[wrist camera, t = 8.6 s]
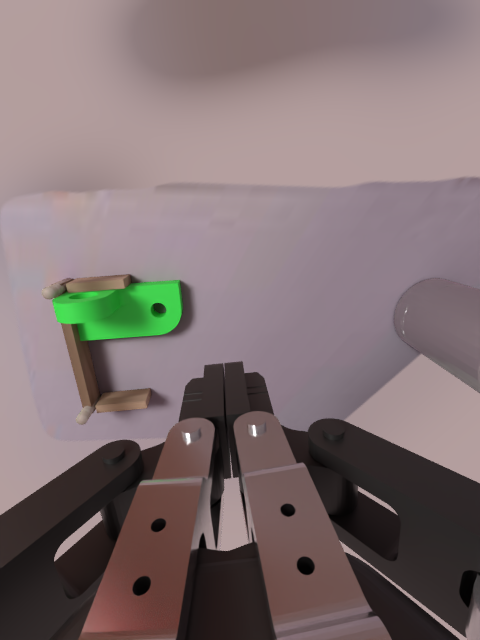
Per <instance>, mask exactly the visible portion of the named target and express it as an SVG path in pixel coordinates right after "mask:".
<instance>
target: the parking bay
mask: <svg viewBox="0 0 480 640" xmlns="http://www.w3.org/2000/svg"><path fill="white" fill-rule="evenodd" d="M131 283H132V282H131V277H130V274H127V275H114V276H102V277H89V278H77V279H75V280H73V279H70V278H67V279H64V280H62V281H59V282H57V283H55V284H52V285H51V286H49V287H46V288H44V289H43V290H42V296H43V297H44V298H45V299H52V298H56V297H58V296H60V295H62V294H64V293H66V292H68V293H74V292H87V291H99V290H111V289H124V288H126V287H127V286H128V285H129V284H131ZM61 325H62V329H63V333H64V336H65V340H66V344H67V348H68V352H69V356H70V360H71V364H72V367H73V371H74V375H75V379H76V383H77V387H78V391H79V395H80V398H81V402H82V406H83V409H82V410H81V412H80V413H79V415H78V416H77V418H76V422H77V423H78V424H81V425H83V424H85V423H86V422H87V420H88V419H89V417H90V416H91V414H92V413H93V412H94V411H95V409H96V410H97V413H101V412H111V411H122V410H132V409H142V408H147V406H148V403H149V400H150V398H151V390H150V388H148V389H138V390H127V391H117V392H106V393H103V394H102V396H101V395H100V392H99V388H98V384H97V380H96V375H95V371H94V367H93V363H92V358H91V354H90V350H89V346H88V341H81V340H80V336H79V332H78V327H77V324H64V323H61Z"/></svg>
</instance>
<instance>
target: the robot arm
mask: <svg viewBox="0 0 480 640" xmlns="http://www.w3.org/2000/svg"><path fill="white" fill-rule="evenodd" d="M394 326H395V329H396V332H397V334H398V335H399V337H400V338H401V339H402V340H403V341H404V342H406V343H407V344H409V345H410V346H412V347H413V348H415V349H416V350H417V351H419V352H420V353H422V354H423V355H425V356H426V357H428V358H429V359H430V360H432V361H433V362H435V363H436V364H438V365H439V366H441V367H442V368H443V369H445V370H446V371H448V372H450V373H451V374H453V375H454V376H455V377H457V378H458V379H460V380H461V381H463V382H464V383H466V384H467V385H469V386H470V387H471V388H473V389H474V390H476V391H477V392H479V393H480V290H479V289H476V288H473V287H469V286H466V285H463V284H459V283H456V282H452V281H449V280H446V279H440V278H433V279H427V280H424V281H421V282H419V283H417V284H415V285H414V286H412V287H411V288H410V289H408V290H407V291H406V293H405V294H404V295H403V296H402V297H401V299H400V300H399V302H398V304H397V307H396V309H395V314H394ZM224 364H225V376H224V367H223V363H222V364H212V365H205V367H204V378H195V379H192V380H191V381H190V382H189V383H188V384H187V385H186V386H185V392H184V397H183V402H182V407H181V412H180V417H179V422H178V423H177V424H175V425H174V426H173V427H172V428H171V429H170V430H169V432H168V435H167V438H166V441H165V442H163V443H162V444H159V445H157V446H154V447H152V448H148V449H145V450H142V451H141V450H140V447H139V445H138V444H137V443H136V442H134V441H132V440H118V441H114V442H111V443H108V444H106V445H104V446H102V447H101V448H99V449H98V450H96V451H95V452H93V453H92V454H90V455H89V456H87V457H86V458H84V459H83V460H81V461H80V462H79V463H77V464H75V465H74V466H72V467H71V468H70V469H68V470H67V471H65V472H64V473H62V474H61V475H59V476H58V477H56V478H55V479H53V480H52V481H50V482H49V483H48V484H46V485H45V486H43V487H41V488H40V489H39V490H37V491H36V492H34V493H33V494H31V495H30V496H28V497H27V498H25V499H24V500H22V501H21V502H19V503H18V504H16V505H15V506H14V507H12V508H11V509H9V510H8V511H6V512H5V513H3V514H2V515H0V640H459V639H458V638H457V637H456V636H455V635H453V634H452V633H451V632H450V631H449V630H447V629H446V628H445V627H444V626H443V625H441V624H440V623H439V622H438V621H436V620H435V619H434V618H433V617H431V616H430V615H429V614H428V613H427V612H425V611H424V610H423V609H422V608H421V607H419V606H418V605H417V604H416V603H414V602H413V601H412V600H411V599H410V598H408V597H407V596H406V595H405V594H403V593H402V592H401V591H400V590H399V589H397V588H396V587H395V586H394V585H392V584H391V583H390V582H389V581H388V580H386V579H385V578H384V577H383V576H382V575H380V574H379V573H378V572H377V571H375V570H374V569H373V568H371V567H370V566H369V565H367V564H366V563H364V562H363V561H361V560H360V559H358V558H356V557H354V556H352V555H350V554H348V553H345V552H344V550H343V548H342V545H341V543H340V541H341V542H342V543H344V544H345V545H346V546H348V547H349V548H351V549H352V550H353V551H354V552H355V553H357V554H358V555H359V556H361V557H362V558H363V559H365V560H366V561H367V562H368V563H370V564H371V565H372V566H374V567H375V568H376V569H378V570H379V571H380V572H382V573H383V574H384V575H385V576H387V577H388V578H389V579H391V580H392V581H393V582H395V583H396V584H397V585H398V586H400V587H401V588H402V589H403V590H405V591H406V592H407V593H409V594H410V595H411V596H413V597H414V598H415V599H416V600H418V601H419V602H421V603H422V604H423V605H424V606H426V607H427V608H428V609H429V610H431V611H432V612H434V613H435V614H436V615H437V616H439V617H440V618H441V619H443V620H444V621H445V622H447V623H448V624H449V625H450V626H452V627H453V628H454V629H455V630H457V631H458V632H459V633H461V634H462V635H463V636H464V637H466V638H467V640H480V483H478V482H476V481H473V480H471V479H469V478H467V477H465V476H462V475H460V474H458V473H456V472H454V471H452V470H450V469H447V468H445V467H443V466H441V465H439V464H437V463H434V462H432V461H430V460H428V459H426V458H424V457H421V456H419V455H417V454H415V453H413V452H411V451H408V450H406V449H404V448H402V447H400V446H398V445H395V444H393V443H391V442H389V441H387V440H385V439H382V438H380V437H378V436H376V435H374V434H372V433H369V432H367V431H365V430H363V429H361V428H359V427H356V426H354V425H352V424H350V423H348V422H345V421H343V420H339V419H331V418H329V419H321V420H318V421H316V422H314V423H313V424H312V425H311V426H310V427H309V429H308V432H305V431H297V430H292V429H289V428H286V427H284V426H282V425H281V424H280V422H279V420H278V418H277V417H276V416H274V413H273V409H272V406H271V402H270V398H269V394H268V391H267V387H266V383H265V380H264V378H263V377H262V376H261V375H260V374H259V373H257V372H253V373H244V368H243V362H242V361H241V362H231V363H224ZM230 454H231V463H232V471H233V477H234V478H235V477H239V485H240V495H241V503H242V509H243V514H244V521H245V526H246V533H247V539H248V544H247V545H244V546H241V547H238V548H236V549H233V550H230V551H220V547H221V545H220V544H221V533H222V531H221V530H222V519H223V505H224V499H223V491H224V479H227V478H231V465H230ZM358 486H359V487H361V488H362V489H364V490H366V491H368V492H369V493H371V494H372V495H374V496H376V497H377V498H379V499H381V500H382V501H384V502H385V503H387V504H389V505H390V506H391V507H392V508H393V509H394V510H395V511H396V513H397V514H398V515H396V514H395V513H393V512H391V511H390V510H388V509H387V508H385V507H383V506H382V505H380V504H378V503H377V502H375V501H374V500H372V499H370V498H369V497H367V496H366V495H364V494H362V493H360V492H359V491H358ZM99 511H100V512H101V516H102V519H103V520H102V521H101V522H99V523H98V524H97V525H96V526H95V527H94V528H93V529H92V530H90V531H89V532H88V533H87V534H86V535H85V536H83V537H82V538H81V539H80V540H79V541H78V542H77V543H76V544H74V545H73V546H72V547H71V548H70V549H69V550H67V552H65V553H64V554H63V555H62V556H61V557H59V558H58V559H57V560H56V561H55V562H54V557H55V554H56V552H57V550H58V548H59V546H60V545H61V544H62V543H63V542H64V541H65V539H67V538H68V537H69V536H70V535H71V534H73V533H74V532H75V531H76V530H77V529H78V528H80V527H81V526H82V525H83V524H85V523H86V522H87V521H88V520H89V519H90V518H92V517H93V516H94V515H95V514H96V513H98V512H99ZM339 540H340V541H339Z"/></svg>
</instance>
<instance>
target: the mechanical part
mask: <svg viewBox="0 0 480 640" xmlns="http://www.w3.org/2000/svg"><path fill="white" fill-rule="evenodd" d="M52 301H53V305H54V309H55V313H56V317H57V321H58V322H60V323H64V324H77V327H78V332H79V336H80V340H81V341H87V340H100V339H113V338H126V337H139V336H152V335H162V334H166V333H168V332H170V331H171V330H173V329H174V328H175V327H176V326H177V324H178V323H179V321H180V318H181V315H182V311H183V302H182V294H181V285H180V280H173V281H158V282H144V283H131V284H129V285H128V286H127V287H126V288H124V289H111V290H99V291H87V292H74V293H68V292H66V293H64V294H62V295H60V296H58V297H56V298H55V299H53V300H52ZM155 303H161V304H163V305H164V306H165V307H166V312H165V313H158V312H156V311H155V309H154V307H153V304H155Z"/></svg>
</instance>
